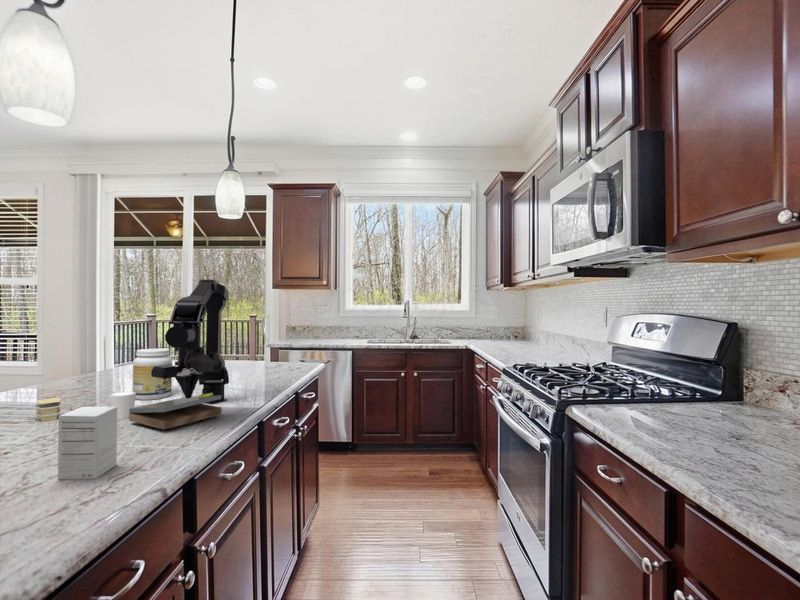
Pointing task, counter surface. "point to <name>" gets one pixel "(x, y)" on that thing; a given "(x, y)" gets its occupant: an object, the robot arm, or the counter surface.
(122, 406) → the white cup
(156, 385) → the supplement tub
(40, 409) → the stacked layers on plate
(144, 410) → the levelling plate
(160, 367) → the robot arm
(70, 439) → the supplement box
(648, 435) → the counter surface
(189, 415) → the brown wooden board
